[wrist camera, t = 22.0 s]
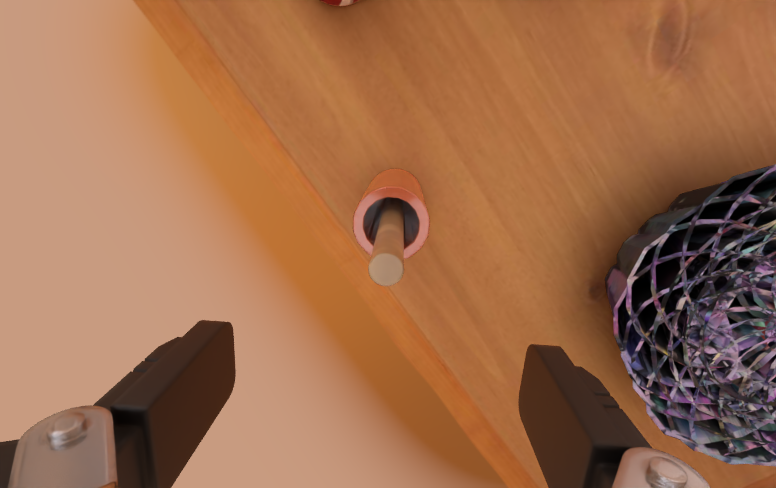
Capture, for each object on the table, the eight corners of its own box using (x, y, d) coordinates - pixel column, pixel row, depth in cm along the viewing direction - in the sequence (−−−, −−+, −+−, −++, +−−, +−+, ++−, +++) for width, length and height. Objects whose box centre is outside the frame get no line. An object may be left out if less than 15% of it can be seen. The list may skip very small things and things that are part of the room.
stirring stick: (385, 204, 37) (367, 285, 18) (387, 187, 37) (368, 251, 18) (403, 205, 37) (402, 287, 18) (404, 188, 37) (405, 254, 18)
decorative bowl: (792, 92, 36) (931, 69, 26) (904, 341, 39) (1062, 401, 30) (531, 241, 40) (566, 268, 31) (654, 450, 44) (719, 533, 34)
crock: (367, 219, 38) (351, 258, 27) (369, 166, 37) (354, 184, 26) (419, 223, 38) (426, 264, 27) (423, 170, 37) (433, 189, 25)
